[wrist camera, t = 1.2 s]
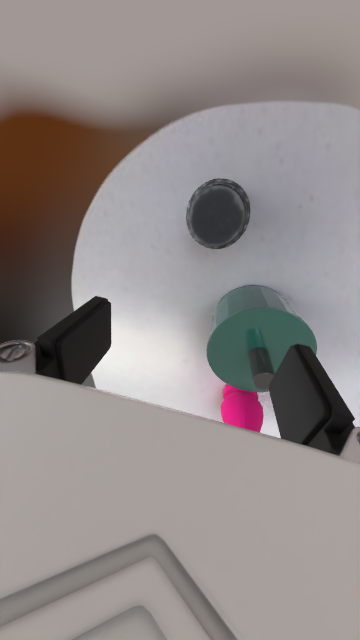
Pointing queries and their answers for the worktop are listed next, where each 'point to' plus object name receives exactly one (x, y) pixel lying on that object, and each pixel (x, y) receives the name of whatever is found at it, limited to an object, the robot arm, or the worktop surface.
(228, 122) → the worktop surface
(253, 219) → the worktop surface
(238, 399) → the pepper mill
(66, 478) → the robot arm
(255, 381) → the pot lid
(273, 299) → the pot
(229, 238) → the pill bottle
